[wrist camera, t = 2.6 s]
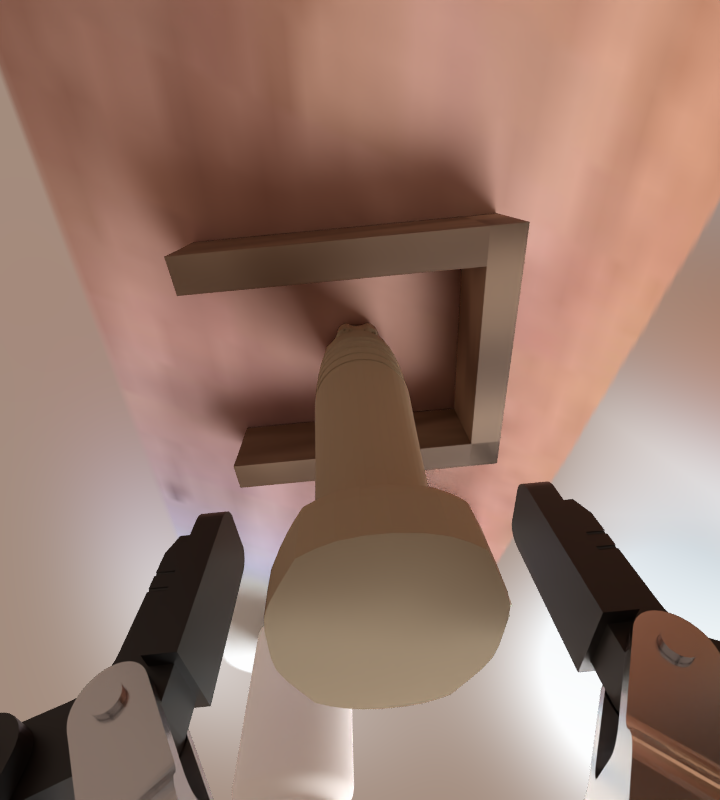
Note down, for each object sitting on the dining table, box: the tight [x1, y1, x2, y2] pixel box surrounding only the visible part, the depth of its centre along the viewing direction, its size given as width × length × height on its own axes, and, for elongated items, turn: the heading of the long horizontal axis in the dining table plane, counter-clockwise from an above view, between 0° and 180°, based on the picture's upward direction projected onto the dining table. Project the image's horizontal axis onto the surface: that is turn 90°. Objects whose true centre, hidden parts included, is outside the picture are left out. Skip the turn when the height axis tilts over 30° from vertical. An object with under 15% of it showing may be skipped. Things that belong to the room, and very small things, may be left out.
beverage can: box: [232, 626, 354, 800], centre depth 29 cm, size 8×8×12 cm
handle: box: [264, 323, 510, 709], centre depth 14 cm, size 5×6×15 cm
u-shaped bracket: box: [164, 213, 530, 488], centre depth 19 cm, size 12×14×4 cm
